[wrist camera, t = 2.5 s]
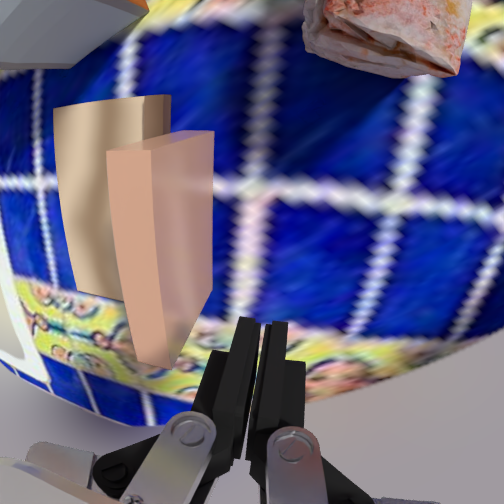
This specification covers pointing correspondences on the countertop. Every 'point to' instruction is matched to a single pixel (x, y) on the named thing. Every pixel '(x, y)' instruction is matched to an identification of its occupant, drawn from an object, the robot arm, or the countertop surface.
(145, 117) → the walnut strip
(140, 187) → the tile
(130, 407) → the countertop surface
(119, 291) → the tan flat rectangular panel
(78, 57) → the alarm clock
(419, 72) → the food item
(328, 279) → the countertop surface
